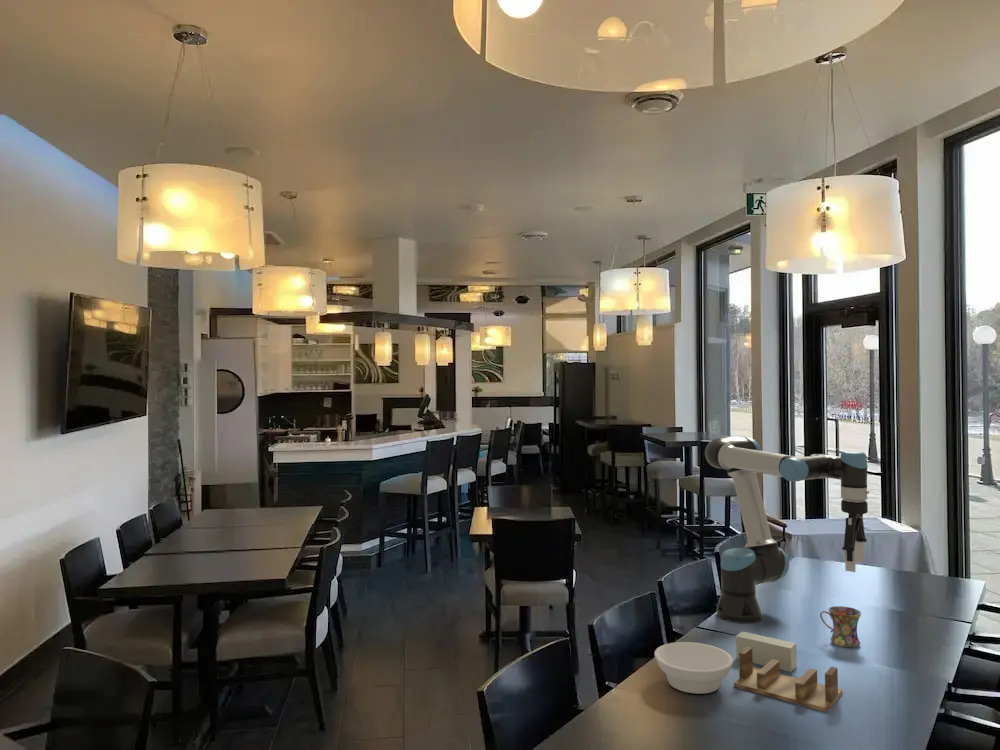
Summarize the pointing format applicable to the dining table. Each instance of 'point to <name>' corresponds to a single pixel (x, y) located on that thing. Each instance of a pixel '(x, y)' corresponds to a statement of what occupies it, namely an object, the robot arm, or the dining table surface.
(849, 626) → the mug
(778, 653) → the block
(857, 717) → the dining table surface
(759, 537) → the robot arm
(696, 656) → the bowl
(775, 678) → the rack
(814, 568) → the dining table surface
